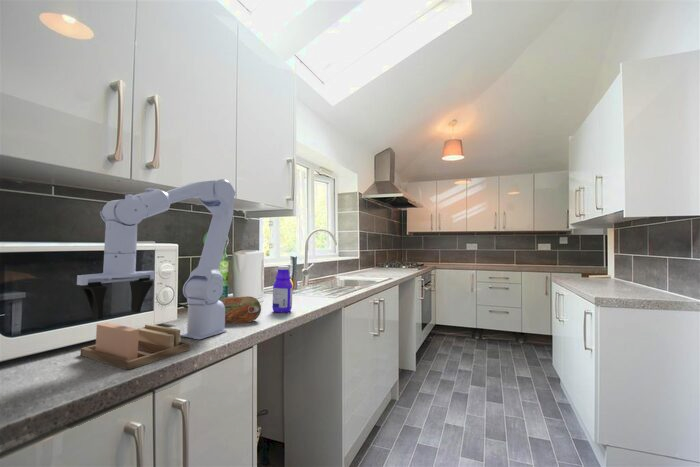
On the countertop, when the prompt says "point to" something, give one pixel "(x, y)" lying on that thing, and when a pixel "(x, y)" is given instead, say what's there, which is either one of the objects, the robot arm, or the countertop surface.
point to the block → (117, 340)
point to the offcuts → (159, 335)
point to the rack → (143, 358)
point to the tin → (241, 309)
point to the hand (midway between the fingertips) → (117, 314)
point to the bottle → (282, 291)
